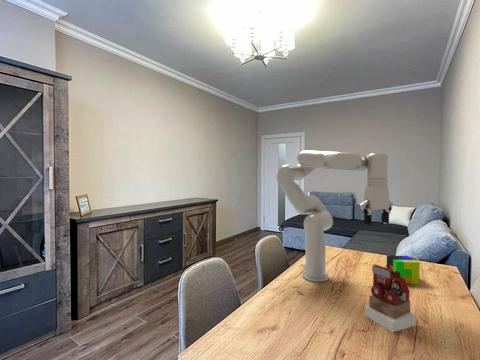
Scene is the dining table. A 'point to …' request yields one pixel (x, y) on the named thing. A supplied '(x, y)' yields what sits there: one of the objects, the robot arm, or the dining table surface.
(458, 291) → the dining table surface
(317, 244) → the robot arm
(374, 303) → the walnut block
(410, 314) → the grey block
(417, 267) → the puzzle toy
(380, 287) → the toy fire truck
